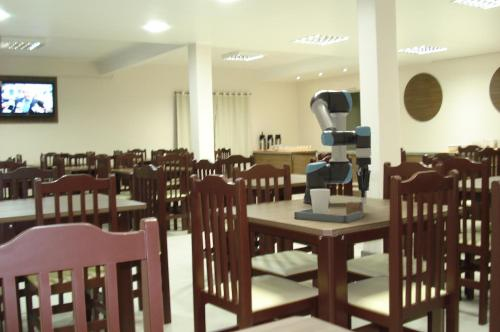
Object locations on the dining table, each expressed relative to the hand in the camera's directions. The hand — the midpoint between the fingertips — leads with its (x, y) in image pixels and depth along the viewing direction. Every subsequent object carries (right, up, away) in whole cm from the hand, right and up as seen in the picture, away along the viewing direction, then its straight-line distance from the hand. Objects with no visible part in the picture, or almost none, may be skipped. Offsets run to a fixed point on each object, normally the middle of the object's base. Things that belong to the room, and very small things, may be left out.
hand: (364, 203), depth 272 cm
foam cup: (-24, -6, -14) cm, 28 cm away
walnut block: (-6, -5, -8) cm, 12 cm away
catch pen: (-20, -5, -17) cm, 27 cm away
